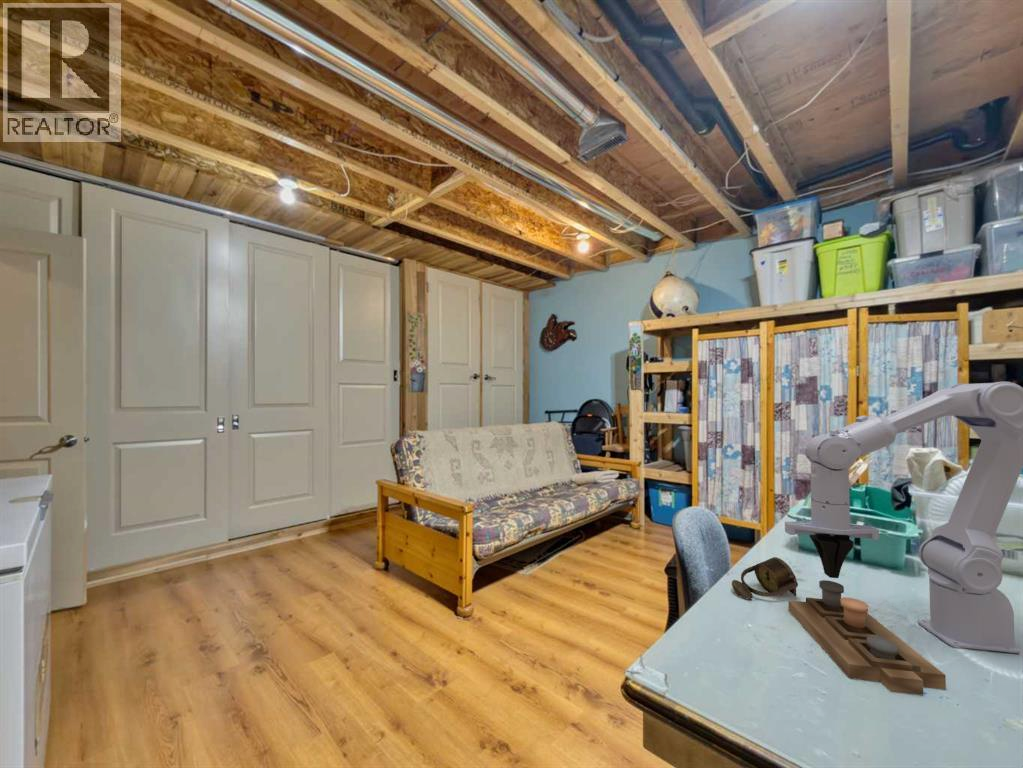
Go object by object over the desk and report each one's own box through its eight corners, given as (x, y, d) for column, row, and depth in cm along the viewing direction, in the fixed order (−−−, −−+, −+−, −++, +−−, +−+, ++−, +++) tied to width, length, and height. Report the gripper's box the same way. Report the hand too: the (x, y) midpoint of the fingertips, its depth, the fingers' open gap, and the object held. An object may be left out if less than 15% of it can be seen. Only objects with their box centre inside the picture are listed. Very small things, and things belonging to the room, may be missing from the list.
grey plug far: (837, 599, 79) (836, 581, 79) (848, 609, 76) (848, 589, 76) (815, 597, 80) (815, 579, 80) (825, 607, 76) (825, 587, 76)
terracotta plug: (860, 618, 72) (859, 598, 72) (873, 630, 69) (873, 608, 69) (836, 616, 73) (836, 596, 73) (848, 627, 69) (848, 606, 70)
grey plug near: (888, 660, 65) (887, 637, 65) (905, 675, 62) (904, 651, 62) (861, 657, 66) (861, 634, 66) (876, 671, 62) (876, 648, 63)
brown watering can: (812, 581, 83) (788, 551, 93) (743, 570, 85) (726, 543, 94) (805, 613, 84) (782, 580, 94) (737, 602, 86) (721, 571, 96)
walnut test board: (853, 612, 81) (852, 597, 81) (957, 699, 58) (957, 678, 58) (784, 605, 84) (783, 591, 84) (857, 687, 60) (857, 666, 60)
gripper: (861, 498, 81) (862, 570, 80) (777, 494, 84) (778, 564, 83) (886, 507, 74) (888, 586, 73) (793, 503, 77) (795, 579, 76)
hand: (831, 575), depth 78 cm, fingers closed
